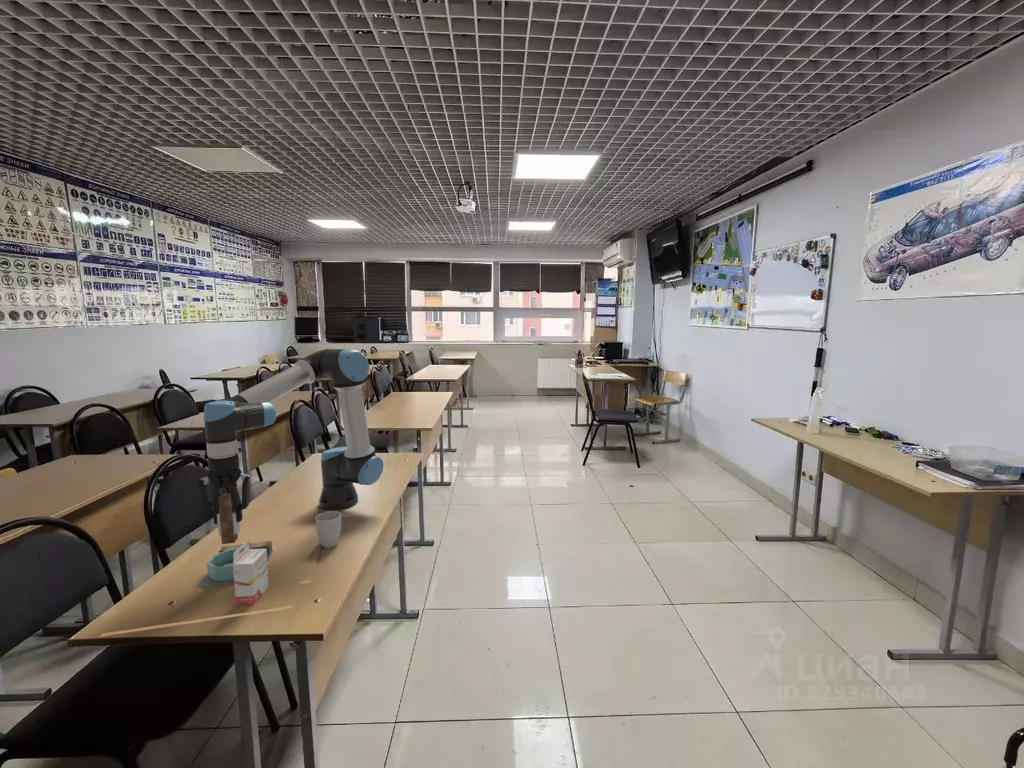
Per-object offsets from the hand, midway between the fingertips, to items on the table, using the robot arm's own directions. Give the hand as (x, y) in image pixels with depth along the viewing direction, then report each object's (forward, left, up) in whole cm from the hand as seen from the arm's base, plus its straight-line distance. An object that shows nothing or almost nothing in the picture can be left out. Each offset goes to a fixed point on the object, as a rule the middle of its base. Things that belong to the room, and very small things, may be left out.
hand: (229, 532), depth 131 cm
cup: (-25, -12, -13) cm, 31 cm away
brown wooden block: (0, 0, -3) cm, 3 cm away
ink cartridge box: (-10, +15, -13) cm, 22 cm away
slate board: (-1, -2, -12) cm, 13 cm away
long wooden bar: (-1, -9, -12) cm, 15 cm away
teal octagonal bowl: (0, 0, -12) cm, 12 cm away
